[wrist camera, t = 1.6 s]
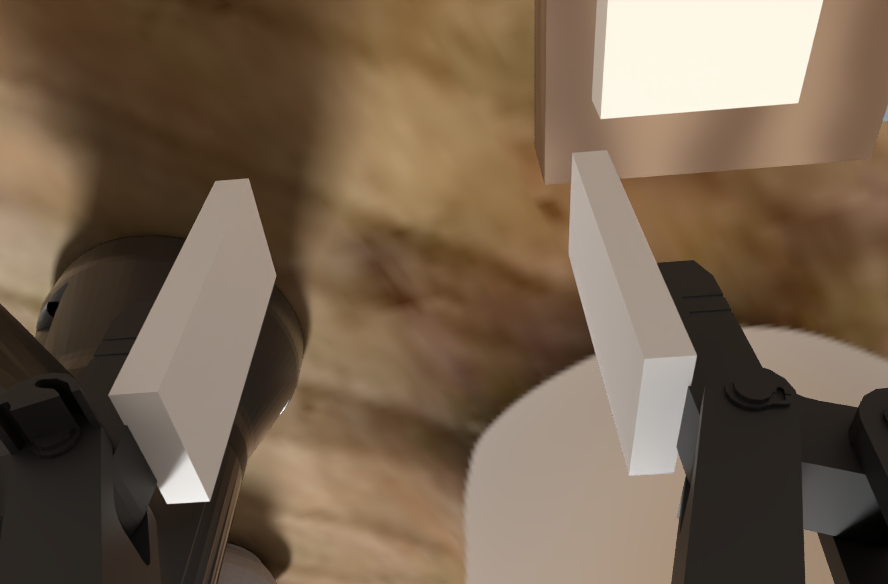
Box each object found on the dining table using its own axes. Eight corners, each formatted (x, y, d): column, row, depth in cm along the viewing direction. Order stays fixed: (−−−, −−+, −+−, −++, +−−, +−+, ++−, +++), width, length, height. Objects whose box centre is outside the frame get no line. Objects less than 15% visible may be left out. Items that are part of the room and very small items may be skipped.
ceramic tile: (591, 99, 30) (600, 119, 29) (602, -111, 25) (614, -101, 24) (778, 84, 30) (798, 102, 28) (827, -132, 25) (853, -124, 23)
